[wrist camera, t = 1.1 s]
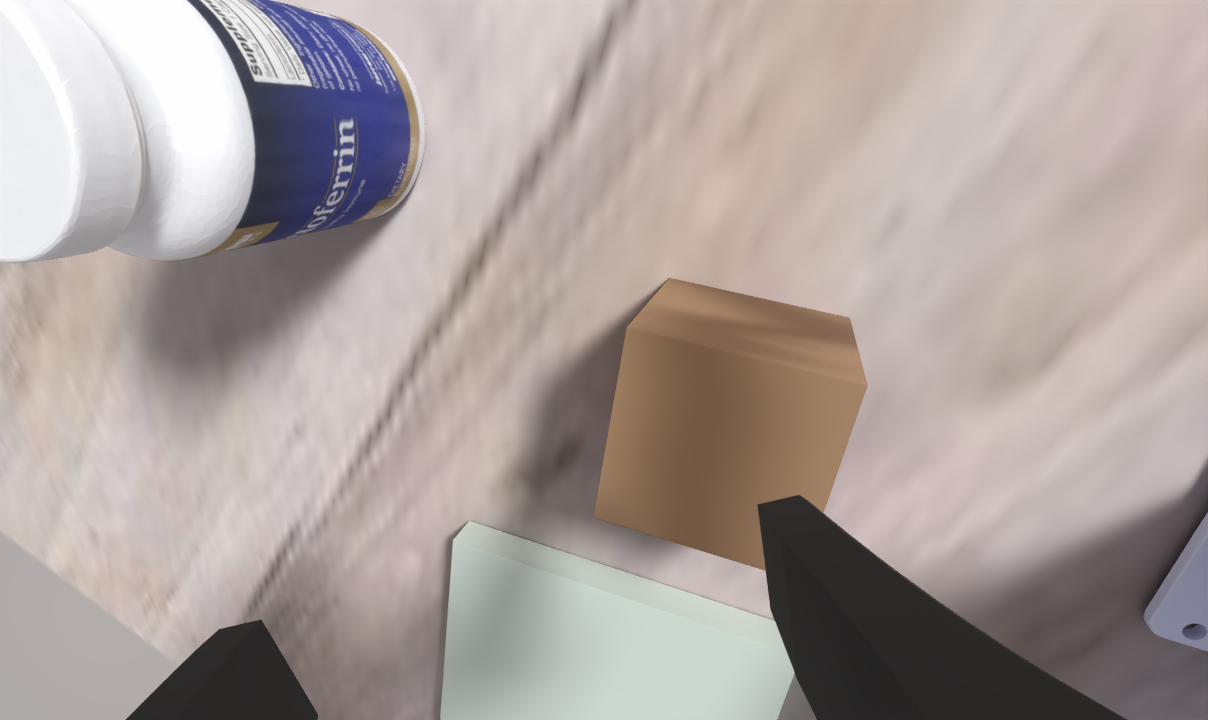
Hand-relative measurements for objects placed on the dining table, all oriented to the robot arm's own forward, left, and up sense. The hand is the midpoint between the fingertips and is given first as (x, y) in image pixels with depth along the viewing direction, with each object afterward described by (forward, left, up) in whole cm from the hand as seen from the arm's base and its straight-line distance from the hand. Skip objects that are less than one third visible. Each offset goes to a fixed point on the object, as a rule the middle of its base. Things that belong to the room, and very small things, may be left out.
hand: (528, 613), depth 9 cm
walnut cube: (-2, 0, -11) cm, 11 cm away
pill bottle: (+11, -5, -11) cm, 16 cm away
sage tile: (0, +14, -11) cm, 18 cm away
